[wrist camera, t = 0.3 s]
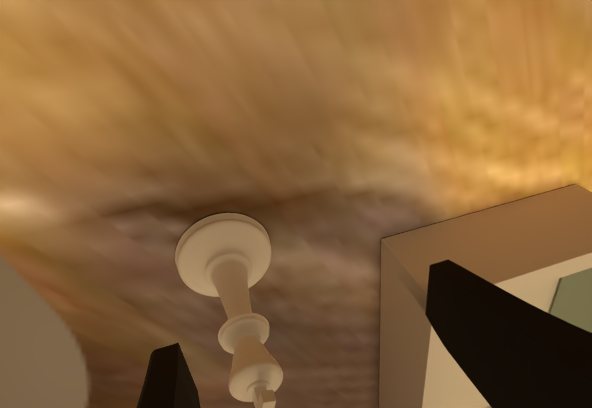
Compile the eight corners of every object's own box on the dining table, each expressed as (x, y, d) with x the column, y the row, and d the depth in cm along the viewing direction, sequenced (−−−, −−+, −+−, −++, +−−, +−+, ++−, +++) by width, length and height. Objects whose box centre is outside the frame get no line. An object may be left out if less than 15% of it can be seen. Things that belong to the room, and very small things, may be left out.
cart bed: (513, 384, 39) (561, 440, 34) (378, 436, 36) (411, 504, 32) (575, 183, 27) (661, 229, 23) (381, 239, 24) (433, 303, 20)
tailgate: (530, 390, 37) (578, 444, 33) (523, 393, 37) (570, 448, 32) (591, 217, 27) (672, 265, 22) (581, 220, 26) (660, 269, 22)
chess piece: (172, 291, 22) (186, 494, 14) (177, 211, 20) (198, 397, 11) (262, 287, 24) (323, 464, 15) (276, 212, 21) (357, 374, 13)
